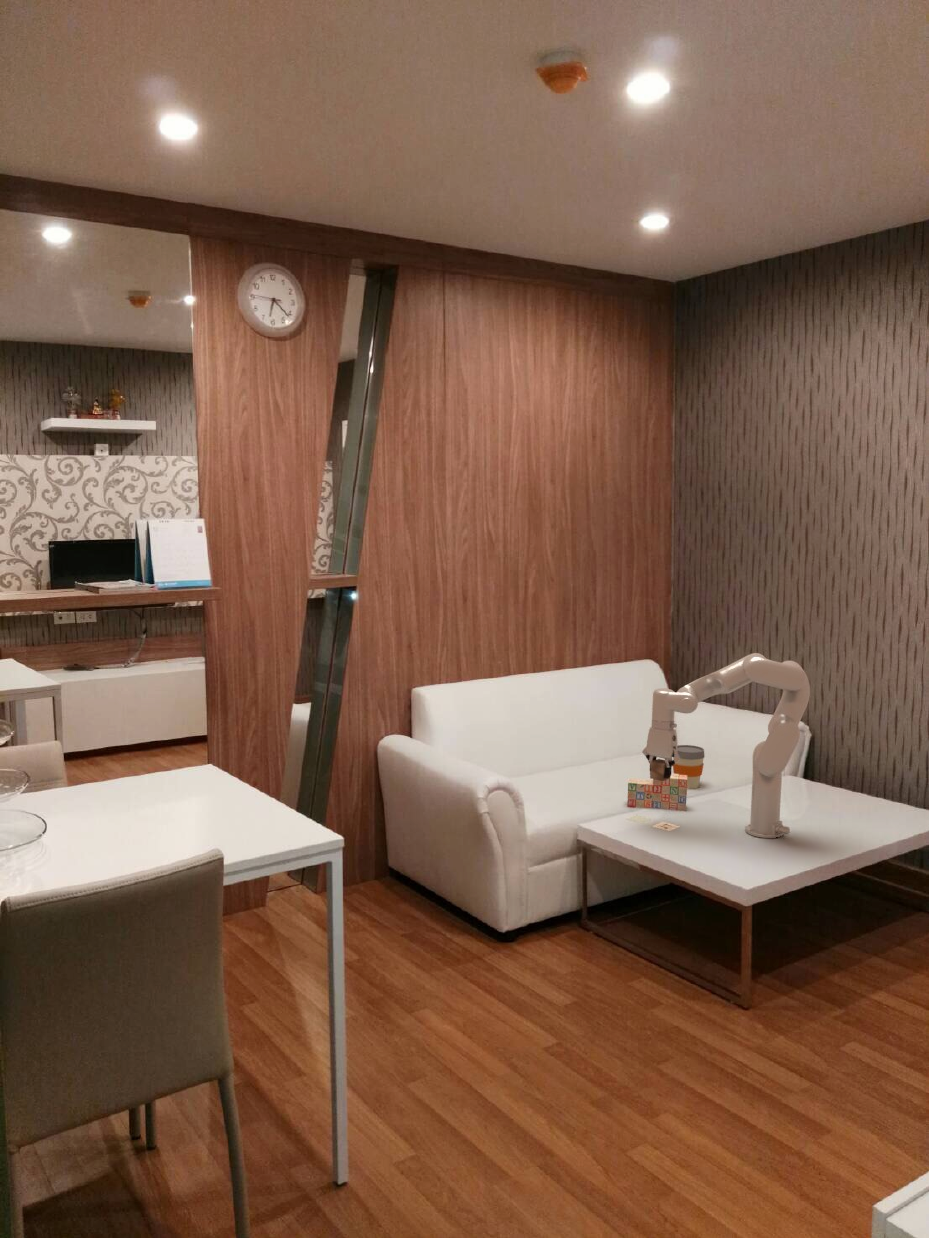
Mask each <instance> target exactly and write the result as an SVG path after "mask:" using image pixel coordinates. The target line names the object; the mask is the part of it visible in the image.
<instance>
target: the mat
mask: <svg viewBox="0 0 929 1238" xmlns="http://www.w3.org/2000/svg"><path fill="white" fill-rule="evenodd" d="M626 820H628V821H630V822H631V821H632V822H634V823H639V824H645V823H648V822H650V821H652V820H654V818H651V817H646V816H643V815H638V814H635V815H633V816H629V817H627V818H626ZM680 827H681V825H676V824H673V823H669V822H665V821H661V822H659V823H657V824H654V825H652V828H657V829H660V830H661V829H662V830H664V831H668V832H670V831H674V830H676V829H677V828H680Z"/></svg>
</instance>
